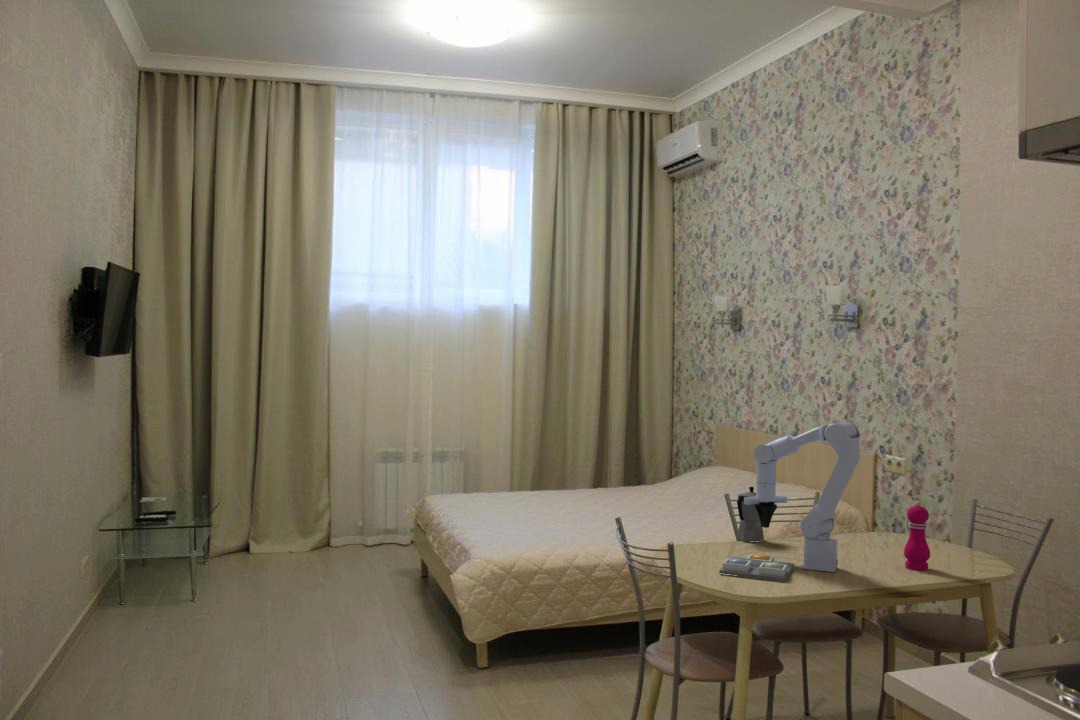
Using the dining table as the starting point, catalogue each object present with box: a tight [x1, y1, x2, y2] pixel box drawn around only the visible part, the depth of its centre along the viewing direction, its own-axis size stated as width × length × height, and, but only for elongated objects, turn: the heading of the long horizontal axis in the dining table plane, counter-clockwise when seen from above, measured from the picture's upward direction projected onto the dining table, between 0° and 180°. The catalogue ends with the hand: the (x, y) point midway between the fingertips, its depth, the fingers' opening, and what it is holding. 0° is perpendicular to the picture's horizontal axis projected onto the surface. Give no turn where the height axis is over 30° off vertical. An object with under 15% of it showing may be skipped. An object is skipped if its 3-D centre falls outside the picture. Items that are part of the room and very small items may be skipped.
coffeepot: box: [736, 486, 765, 543], centre depth 294 cm, size 15×9×18 cm, turn 138°
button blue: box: [729, 557, 746, 565], centre depth 249 cm, size 5×5×2 cm
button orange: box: [752, 553, 769, 560], centre depth 255 cm, size 5×5×2 cm
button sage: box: [765, 562, 782, 569], centre depth 245 cm, size 5×5×2 cm
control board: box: [718, 553, 795, 583], centre depth 251 cm, size 18×19×3 cm
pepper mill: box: [903, 500, 931, 572], centre depth 258 cm, size 7×7×20 cm
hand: (765, 527), depth 268 cm, fingers closed
